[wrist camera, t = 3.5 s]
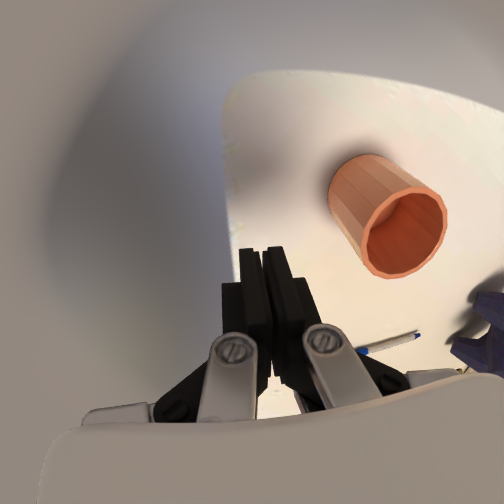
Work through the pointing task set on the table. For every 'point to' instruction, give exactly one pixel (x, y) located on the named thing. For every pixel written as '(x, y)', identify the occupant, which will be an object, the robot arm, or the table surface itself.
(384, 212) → the cup
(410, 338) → the ballpoint pen
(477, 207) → the table surface
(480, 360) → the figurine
